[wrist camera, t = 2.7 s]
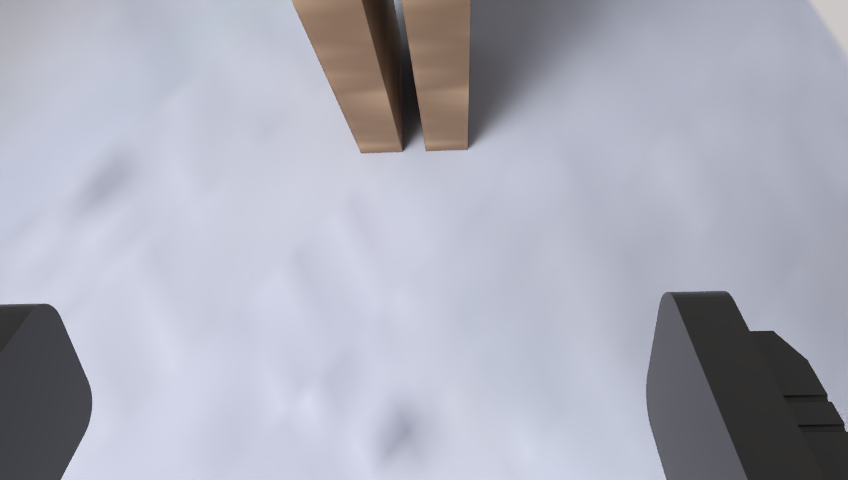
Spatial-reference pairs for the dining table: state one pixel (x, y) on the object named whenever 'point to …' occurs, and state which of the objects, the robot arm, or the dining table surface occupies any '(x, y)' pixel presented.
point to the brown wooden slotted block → (394, 66)
